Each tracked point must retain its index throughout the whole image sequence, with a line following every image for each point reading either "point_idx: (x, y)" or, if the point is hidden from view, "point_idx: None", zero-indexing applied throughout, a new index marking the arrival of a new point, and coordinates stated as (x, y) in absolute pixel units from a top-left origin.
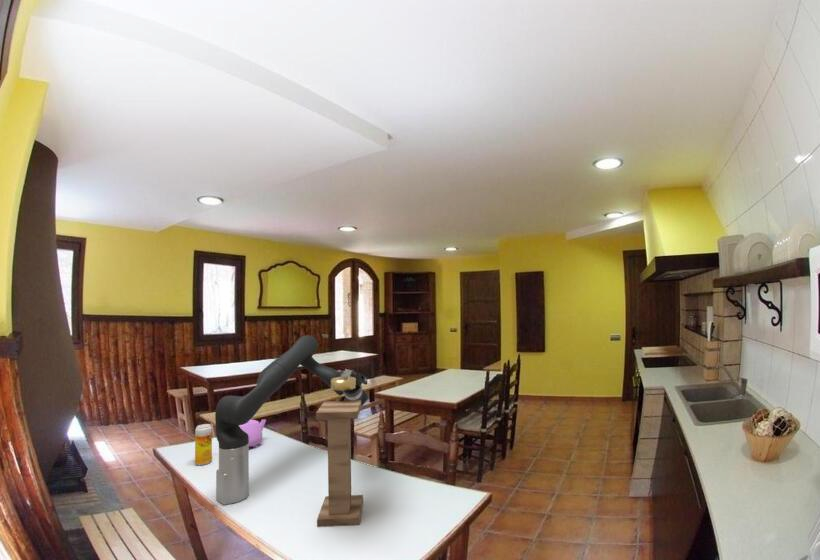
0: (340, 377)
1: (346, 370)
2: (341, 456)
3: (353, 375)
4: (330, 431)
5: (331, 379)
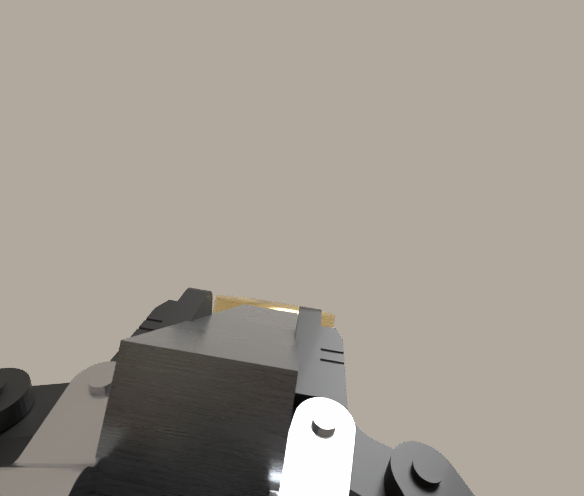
0: (293, 310)
1: (265, 353)
2: None
3: None
4: None
5: (330, 313)
